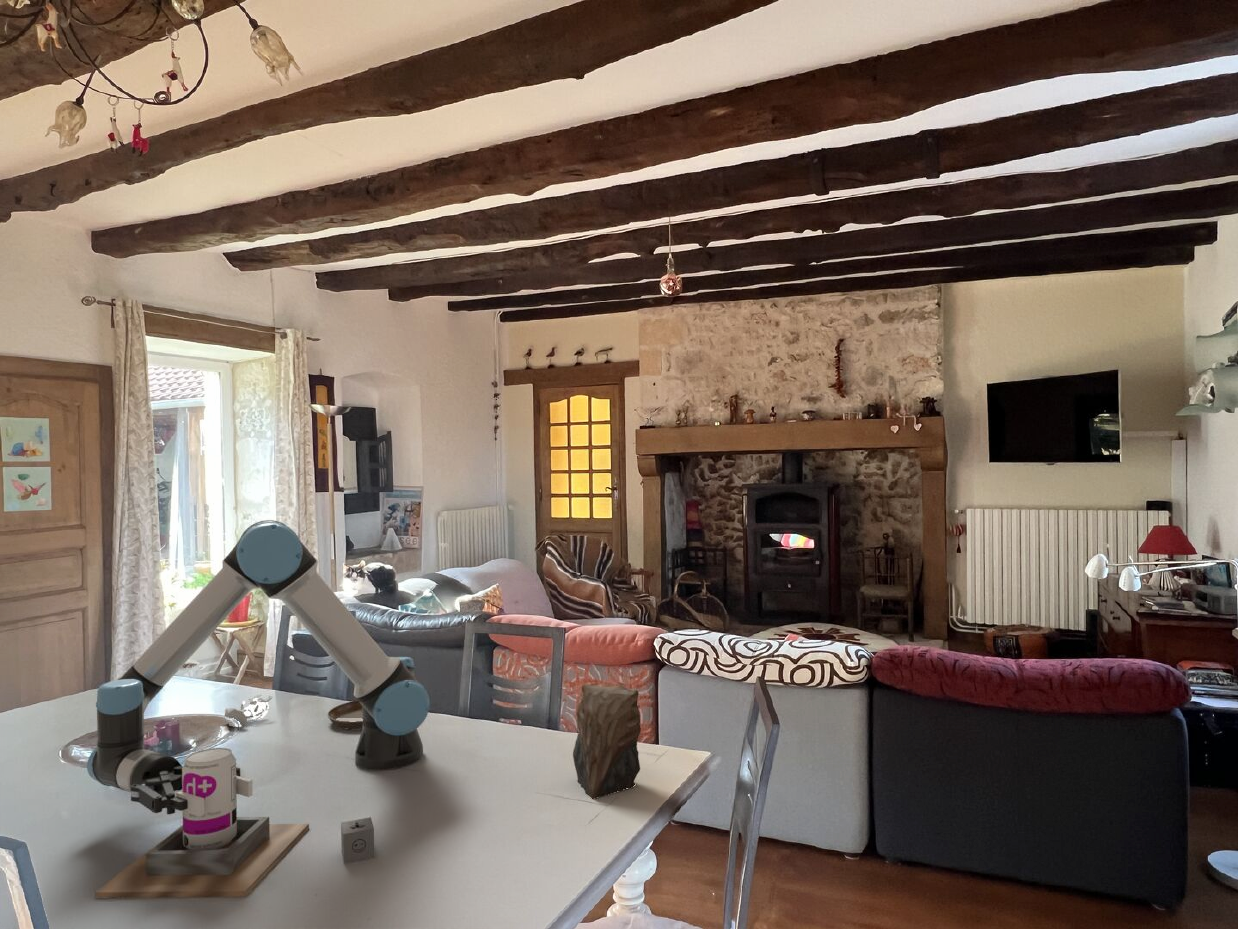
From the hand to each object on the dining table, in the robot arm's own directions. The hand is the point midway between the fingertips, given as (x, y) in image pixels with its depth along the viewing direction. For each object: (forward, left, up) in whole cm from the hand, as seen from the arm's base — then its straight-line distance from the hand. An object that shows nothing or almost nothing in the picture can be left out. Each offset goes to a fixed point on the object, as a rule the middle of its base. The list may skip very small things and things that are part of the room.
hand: (226, 797), depth 135 cm
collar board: (+4, -2, -12) cm, 13 cm away
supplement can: (+4, -2, -9) cm, 10 cm away
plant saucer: (+3, -80, -12) cm, 81 cm away
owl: (-62, -32, -12) cm, 71 cm away
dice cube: (-21, -4, -12) cm, 24 cm away
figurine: (+35, -80, -12) cm, 88 cm away
